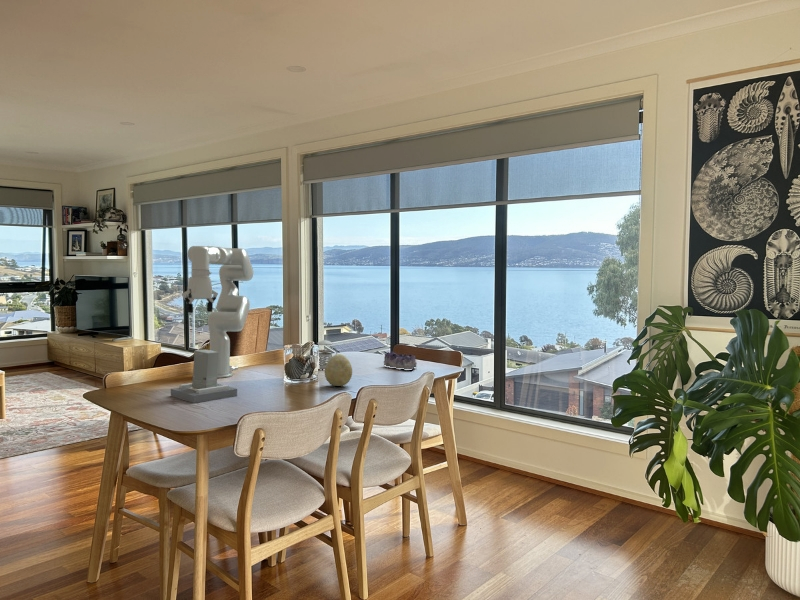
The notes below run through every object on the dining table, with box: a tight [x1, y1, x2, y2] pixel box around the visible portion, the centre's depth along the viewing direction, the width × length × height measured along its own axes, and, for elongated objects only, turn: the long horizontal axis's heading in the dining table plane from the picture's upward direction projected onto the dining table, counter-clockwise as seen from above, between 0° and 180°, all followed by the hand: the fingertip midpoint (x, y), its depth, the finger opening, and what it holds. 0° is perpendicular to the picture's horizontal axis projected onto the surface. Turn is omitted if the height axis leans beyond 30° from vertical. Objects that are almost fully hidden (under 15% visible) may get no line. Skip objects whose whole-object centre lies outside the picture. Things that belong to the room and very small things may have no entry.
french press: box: [317, 321, 338, 369], centre depth 331 cm, size 10×12×25 cm
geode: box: [383, 350, 417, 370], centre depth 338 cm, size 20×12×10 cm, turn 60°
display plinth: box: [170, 382, 238, 404], centre depth 258 cm, size 20×18×4 cm
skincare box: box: [191, 349, 219, 389], centre depth 258 cm, size 8×7×16 cm
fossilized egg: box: [324, 353, 353, 387], centre depth 284 cm, size 13×13×15 cm
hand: (200, 312), depth 277 cm, fingers open, 9 cm apart
